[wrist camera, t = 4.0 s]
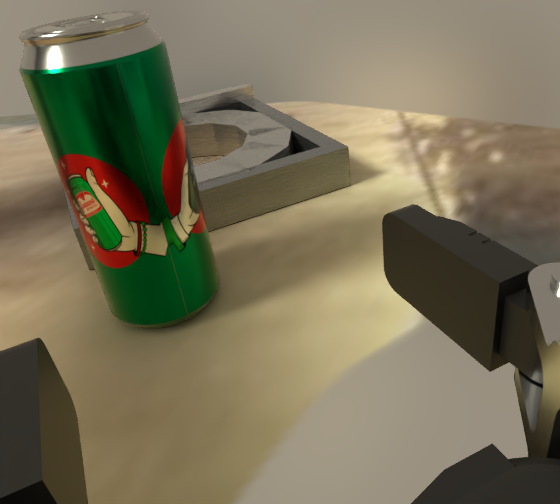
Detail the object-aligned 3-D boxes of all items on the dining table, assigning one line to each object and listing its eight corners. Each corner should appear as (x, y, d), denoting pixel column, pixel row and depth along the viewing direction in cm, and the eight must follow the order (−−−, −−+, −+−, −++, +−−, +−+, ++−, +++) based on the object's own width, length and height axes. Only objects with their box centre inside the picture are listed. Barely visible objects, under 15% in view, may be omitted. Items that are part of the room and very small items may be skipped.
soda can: (193, 257, 27) (129, 6, 20) (241, 300, 23) (180, 10, 17) (99, 297, 25) (-4, 31, 18) (135, 352, 21) (20, 43, 15)
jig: (89, 270, 27) (66, 211, 25) (64, 174, 40) (47, 131, 38) (350, 185, 32) (347, 130, 30) (253, 124, 44) (246, 83, 43)
